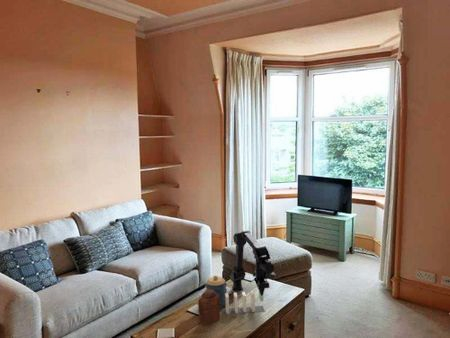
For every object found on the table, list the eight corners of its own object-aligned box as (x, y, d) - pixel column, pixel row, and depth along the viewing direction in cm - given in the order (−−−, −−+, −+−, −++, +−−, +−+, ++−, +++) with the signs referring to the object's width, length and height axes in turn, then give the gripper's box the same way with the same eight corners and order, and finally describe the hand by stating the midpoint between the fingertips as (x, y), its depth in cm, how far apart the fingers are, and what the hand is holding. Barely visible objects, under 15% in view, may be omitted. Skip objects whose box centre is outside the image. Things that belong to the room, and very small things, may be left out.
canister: (231, 302, 211) (230, 274, 209) (216, 311, 201) (216, 282, 200) (216, 296, 220) (215, 269, 218) (201, 304, 210) (200, 276, 208)
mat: (221, 309, 203) (221, 308, 203) (262, 306, 205) (262, 305, 205) (222, 315, 196) (222, 315, 196) (265, 312, 198) (265, 311, 198)
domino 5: (259, 297, 204) (258, 280, 202) (261, 296, 204) (261, 280, 203) (260, 301, 199) (260, 284, 198) (263, 301, 199) (263, 284, 198)
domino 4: (250, 307, 204) (250, 291, 203) (253, 307, 204) (253, 291, 203) (252, 311, 199) (251, 295, 198) (255, 311, 199) (254, 295, 198)
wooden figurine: (215, 315, 196) (214, 285, 194) (221, 320, 191) (220, 289, 189) (197, 322, 190) (195, 291, 188) (203, 328, 184) (201, 295, 182)
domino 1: (225, 309, 202) (225, 293, 201) (228, 309, 202) (227, 293, 201) (226, 313, 197) (226, 297, 196) (229, 313, 197) (228, 297, 196)
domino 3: (242, 308, 203) (242, 291, 202) (245, 307, 203) (244, 291, 202) (243, 312, 198) (243, 295, 197) (246, 312, 198) (246, 295, 197)
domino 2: (234, 308, 203) (233, 292, 202) (236, 308, 203) (236, 292, 202) (235, 313, 198) (234, 296, 197) (237, 313, 198) (237, 296, 197)
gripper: (278, 273, 191) (278, 299, 192) (270, 260, 209) (270, 285, 211) (258, 274, 190) (258, 301, 191) (252, 261, 208) (252, 286, 210)
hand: (261, 293), depth 201 cm, fingers closed on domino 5, 5 cm apart
